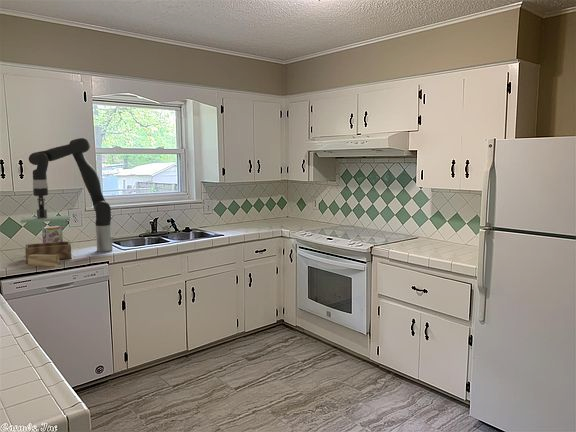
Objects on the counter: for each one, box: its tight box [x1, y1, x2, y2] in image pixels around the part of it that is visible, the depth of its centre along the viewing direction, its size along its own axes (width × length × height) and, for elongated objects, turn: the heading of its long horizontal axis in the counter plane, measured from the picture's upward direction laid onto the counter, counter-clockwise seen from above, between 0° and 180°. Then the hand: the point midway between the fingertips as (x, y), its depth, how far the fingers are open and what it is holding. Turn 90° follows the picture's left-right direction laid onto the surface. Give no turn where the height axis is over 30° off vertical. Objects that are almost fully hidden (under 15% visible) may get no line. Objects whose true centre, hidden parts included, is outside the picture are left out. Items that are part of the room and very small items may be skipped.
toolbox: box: [24, 240, 72, 265], centre depth 275 cm, size 24×14×9 cm, turn 119°
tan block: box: [27, 255, 60, 267], centre depth 260 cm, size 4×16×6 cm, turn 89°
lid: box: [20, 208, 71, 224], centre depth 264 cm, size 25×15×6 cm, turn 118°
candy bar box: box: [41, 225, 64, 243], centre depth 297 cm, size 11×5×16 cm, turn 141°
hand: (42, 216), depth 263 cm, fingers closed on lid, 2 cm apart
